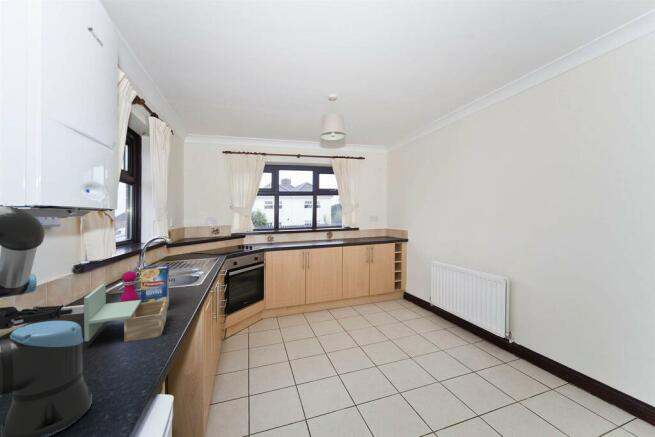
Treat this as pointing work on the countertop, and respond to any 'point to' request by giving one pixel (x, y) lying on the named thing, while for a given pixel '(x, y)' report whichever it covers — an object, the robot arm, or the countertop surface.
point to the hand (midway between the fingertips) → (84, 308)
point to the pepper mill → (129, 287)
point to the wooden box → (146, 321)
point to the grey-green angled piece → (104, 310)
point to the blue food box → (155, 284)
